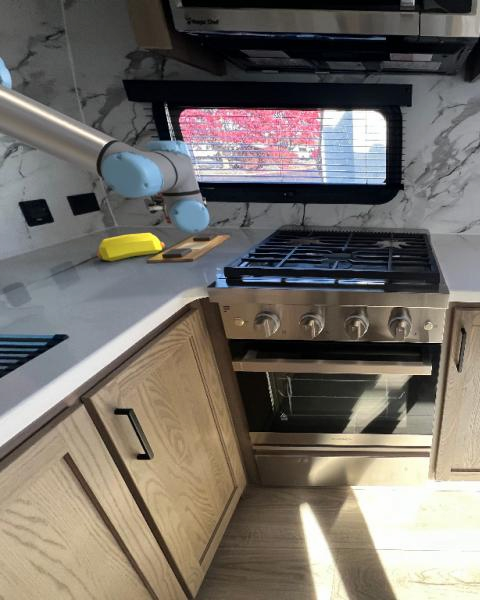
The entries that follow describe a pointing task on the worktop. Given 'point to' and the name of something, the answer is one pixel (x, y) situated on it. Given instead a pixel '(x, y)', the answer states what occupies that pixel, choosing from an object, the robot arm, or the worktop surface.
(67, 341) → the worktop surface
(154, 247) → the yellow bevelled bar
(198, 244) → the brown wooden board
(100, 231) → the worktop surface
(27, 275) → the worktop surface
